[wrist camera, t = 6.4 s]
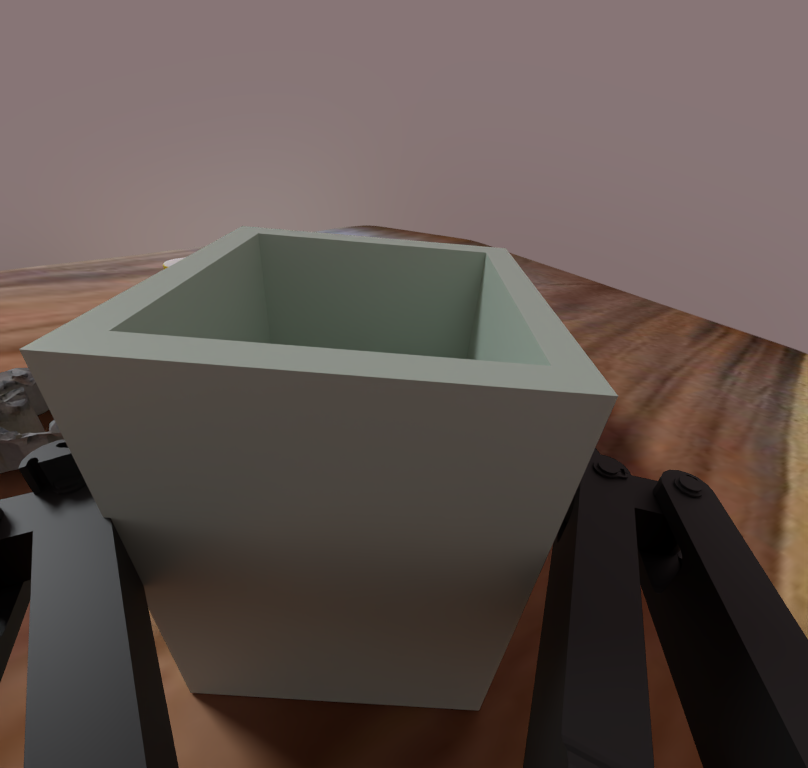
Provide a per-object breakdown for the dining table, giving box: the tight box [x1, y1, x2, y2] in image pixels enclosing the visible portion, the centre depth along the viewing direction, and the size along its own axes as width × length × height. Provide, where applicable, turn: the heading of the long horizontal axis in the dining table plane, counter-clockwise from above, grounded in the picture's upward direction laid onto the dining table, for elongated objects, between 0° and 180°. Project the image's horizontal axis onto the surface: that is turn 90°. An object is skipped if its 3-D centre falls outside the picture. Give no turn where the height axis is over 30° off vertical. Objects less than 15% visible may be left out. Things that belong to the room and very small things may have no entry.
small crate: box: [19, 226, 618, 711], centre depth 13 cm, size 9×9×12 cm
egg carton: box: [0, 368, 64, 473], centre depth 20 cm, size 11×8×4 cm
